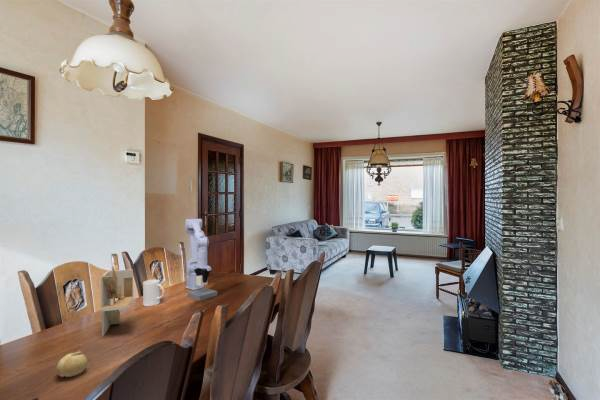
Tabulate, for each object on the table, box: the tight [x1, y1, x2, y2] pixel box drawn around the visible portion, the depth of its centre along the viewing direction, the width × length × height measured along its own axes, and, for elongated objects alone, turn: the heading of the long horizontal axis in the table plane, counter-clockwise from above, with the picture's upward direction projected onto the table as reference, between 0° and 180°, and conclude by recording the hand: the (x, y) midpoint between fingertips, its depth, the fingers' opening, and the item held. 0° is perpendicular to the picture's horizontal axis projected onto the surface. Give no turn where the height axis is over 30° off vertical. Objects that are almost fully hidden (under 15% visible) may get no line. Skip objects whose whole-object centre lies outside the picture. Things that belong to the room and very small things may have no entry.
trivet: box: [187, 287, 218, 301], centre depth 179 cm, size 12×12×2 cm
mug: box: [142, 279, 165, 307], centre depth 165 cm, size 12×8×12 cm
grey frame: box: [100, 265, 134, 337], centre depth 132 cm, size 10×16×29 cm, turn 21°
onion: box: [55, 349, 88, 378], centre depth 98 cm, size 8×8×7 cm
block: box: [196, 275, 209, 287], centre depth 178 cm, size 4×4×5 cm
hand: (202, 281), depth 179 cm, fingers closed on block, 4 cm apart
